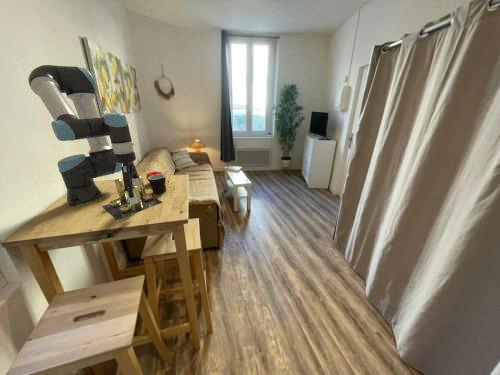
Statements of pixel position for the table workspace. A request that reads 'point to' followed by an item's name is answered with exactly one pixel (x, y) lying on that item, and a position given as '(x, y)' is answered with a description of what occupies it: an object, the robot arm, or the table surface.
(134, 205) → the knob front
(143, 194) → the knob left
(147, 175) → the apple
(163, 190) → the coffee mug
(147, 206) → the levelling plate
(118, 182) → the knob back
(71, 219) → the table surface
